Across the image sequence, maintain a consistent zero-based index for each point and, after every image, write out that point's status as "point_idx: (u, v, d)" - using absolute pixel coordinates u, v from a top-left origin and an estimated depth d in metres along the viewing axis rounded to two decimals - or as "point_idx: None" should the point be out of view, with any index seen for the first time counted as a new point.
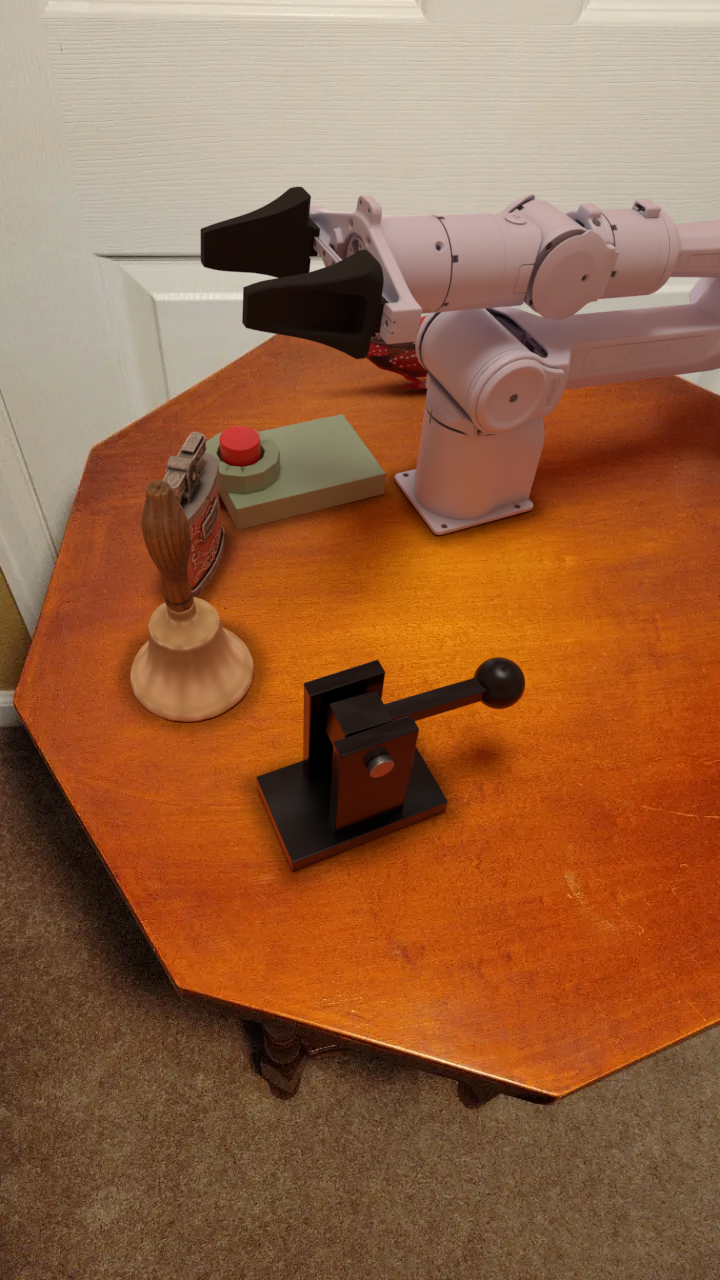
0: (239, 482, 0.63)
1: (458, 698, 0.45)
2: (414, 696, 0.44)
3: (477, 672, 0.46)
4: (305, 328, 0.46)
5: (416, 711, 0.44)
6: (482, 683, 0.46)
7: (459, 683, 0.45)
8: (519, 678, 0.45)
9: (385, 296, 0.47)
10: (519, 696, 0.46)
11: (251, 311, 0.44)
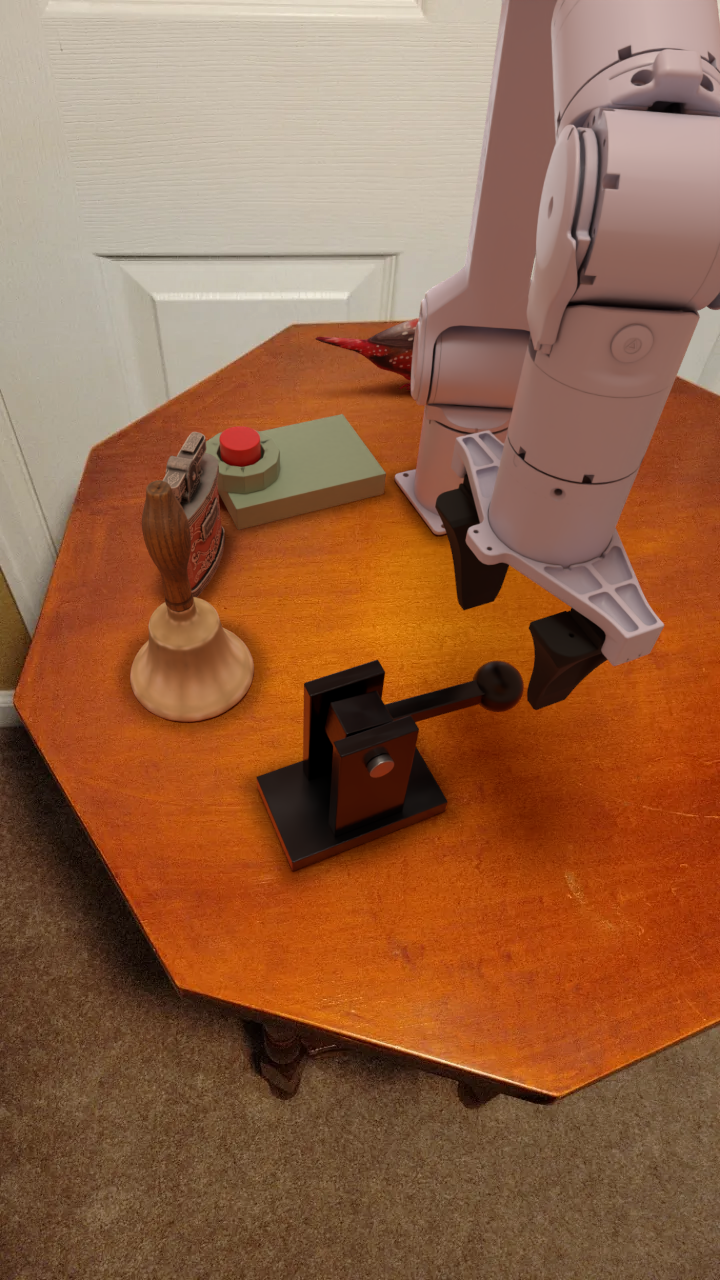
0: (239, 482, 0.63)
1: (457, 700, 0.45)
2: (414, 697, 0.44)
3: (476, 675, 0.46)
4: (589, 662, 0.39)
5: (416, 712, 0.44)
6: (481, 686, 0.46)
7: (458, 686, 0.46)
8: (518, 682, 0.46)
9: None
10: (517, 700, 0.46)
11: (552, 701, 0.42)
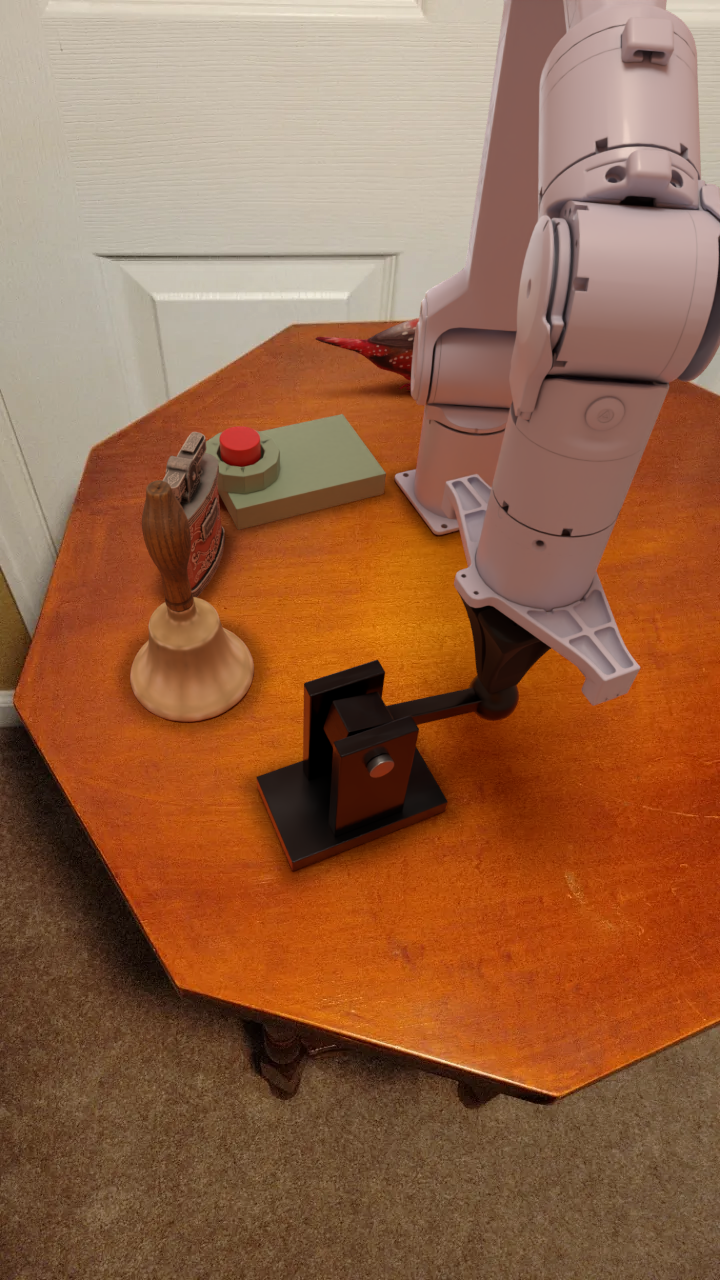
0: (239, 482, 0.63)
1: (455, 706, 0.45)
2: (413, 700, 0.45)
3: (473, 683, 0.47)
4: (537, 649, 0.43)
5: (415, 715, 0.44)
6: (478, 694, 0.46)
7: (456, 692, 0.46)
8: (514, 691, 0.46)
9: None
10: (513, 709, 0.47)
11: (505, 686, 0.46)
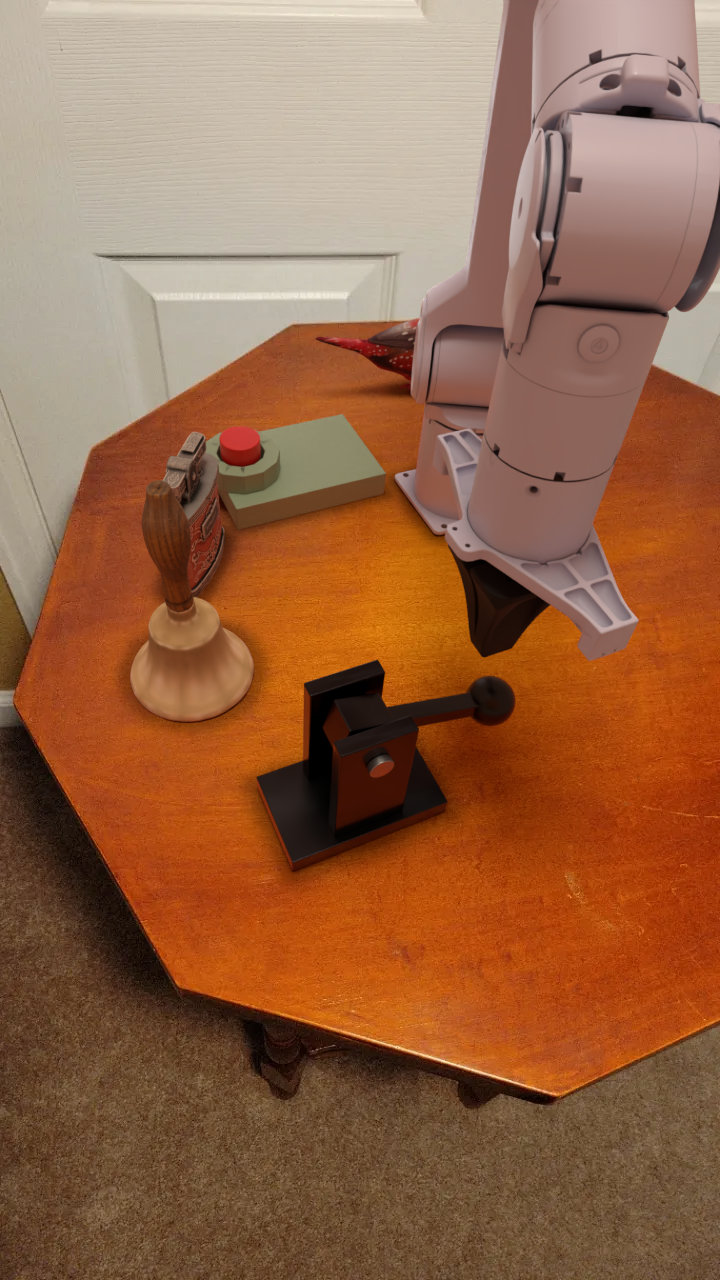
0: (239, 482, 0.63)
1: (454, 710, 0.45)
2: (413, 703, 0.45)
3: (471, 688, 0.47)
4: (532, 609, 0.42)
5: (414, 717, 0.44)
6: (476, 699, 0.47)
7: (454, 696, 0.46)
8: (511, 697, 0.47)
9: None
10: (509, 715, 0.47)
11: (499, 650, 0.44)
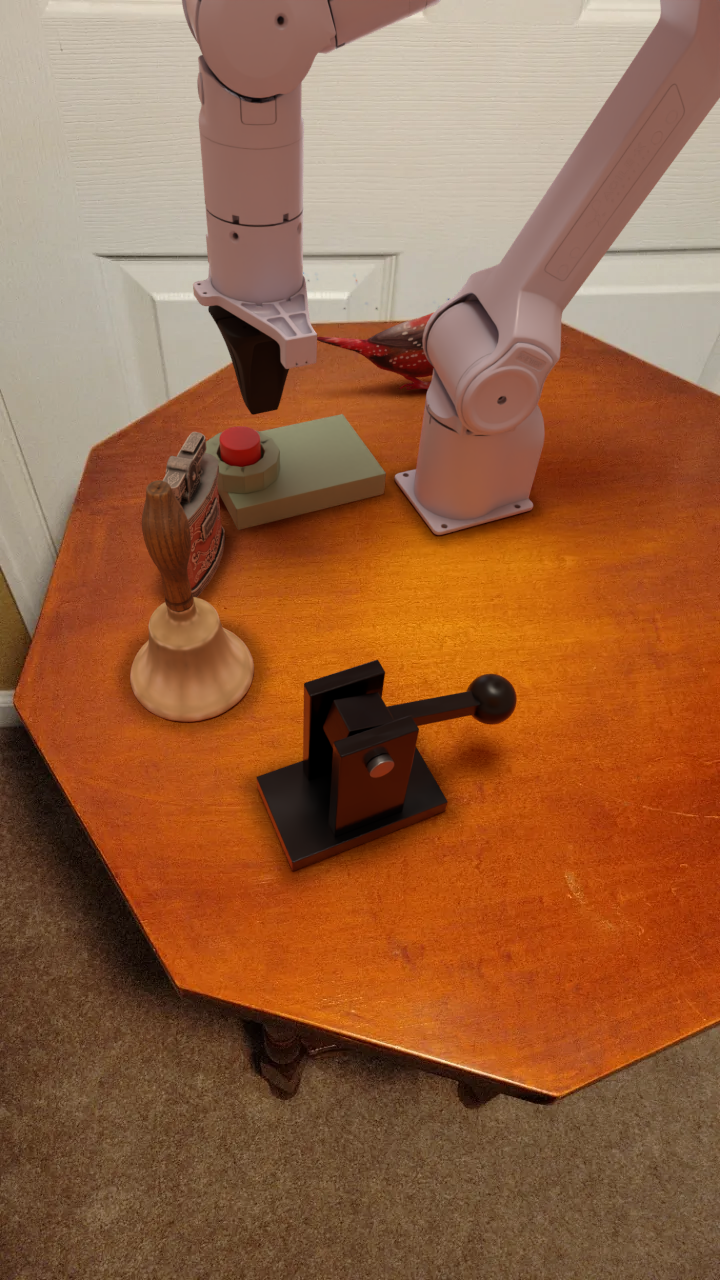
0: (239, 482, 0.63)
1: (454, 708, 0.45)
2: (413, 702, 0.45)
3: (472, 686, 0.47)
4: (280, 368, 0.55)
5: (414, 717, 0.44)
6: (477, 697, 0.47)
7: (455, 695, 0.46)
8: (512, 695, 0.47)
9: None
10: (511, 713, 0.47)
11: (265, 409, 0.57)
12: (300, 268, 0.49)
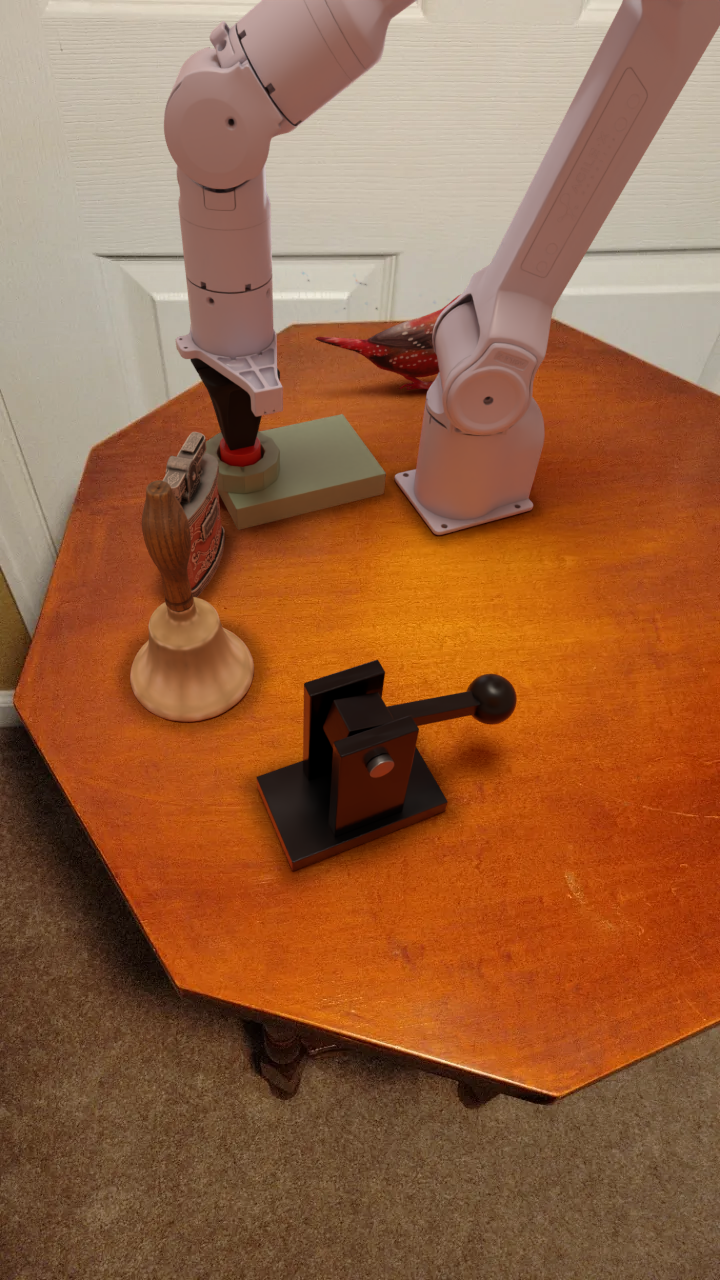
0: (239, 482, 0.63)
1: (454, 708, 0.45)
2: (413, 702, 0.45)
3: (472, 686, 0.47)
4: None
5: (414, 717, 0.44)
6: (477, 697, 0.47)
7: (455, 695, 0.46)
8: (512, 695, 0.47)
9: None
10: (511, 713, 0.47)
11: (242, 445, 0.63)
12: (270, 326, 0.55)
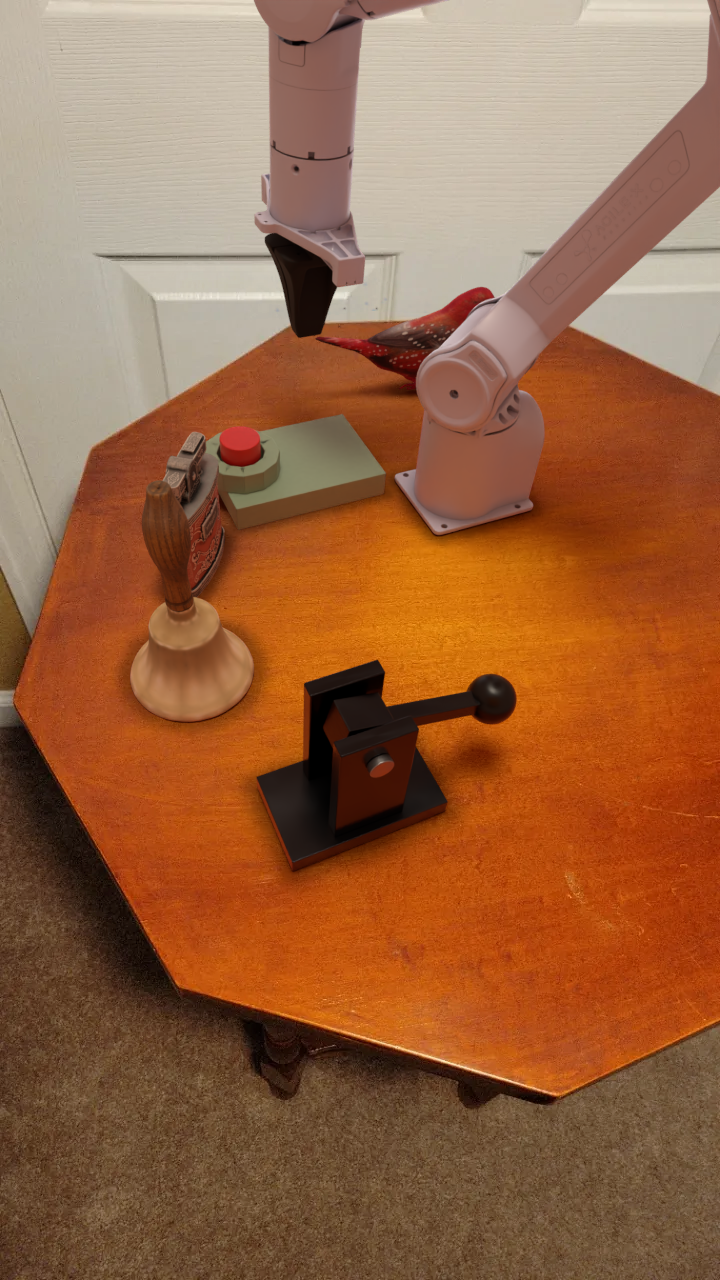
0: (239, 482, 0.63)
1: (454, 708, 0.45)
2: (413, 702, 0.45)
3: (472, 686, 0.47)
4: (326, 294, 0.62)
5: (414, 717, 0.44)
6: (477, 697, 0.47)
7: (455, 695, 0.46)
8: (512, 695, 0.47)
9: None
10: (511, 713, 0.47)
11: (310, 333, 0.64)
12: (349, 201, 0.56)
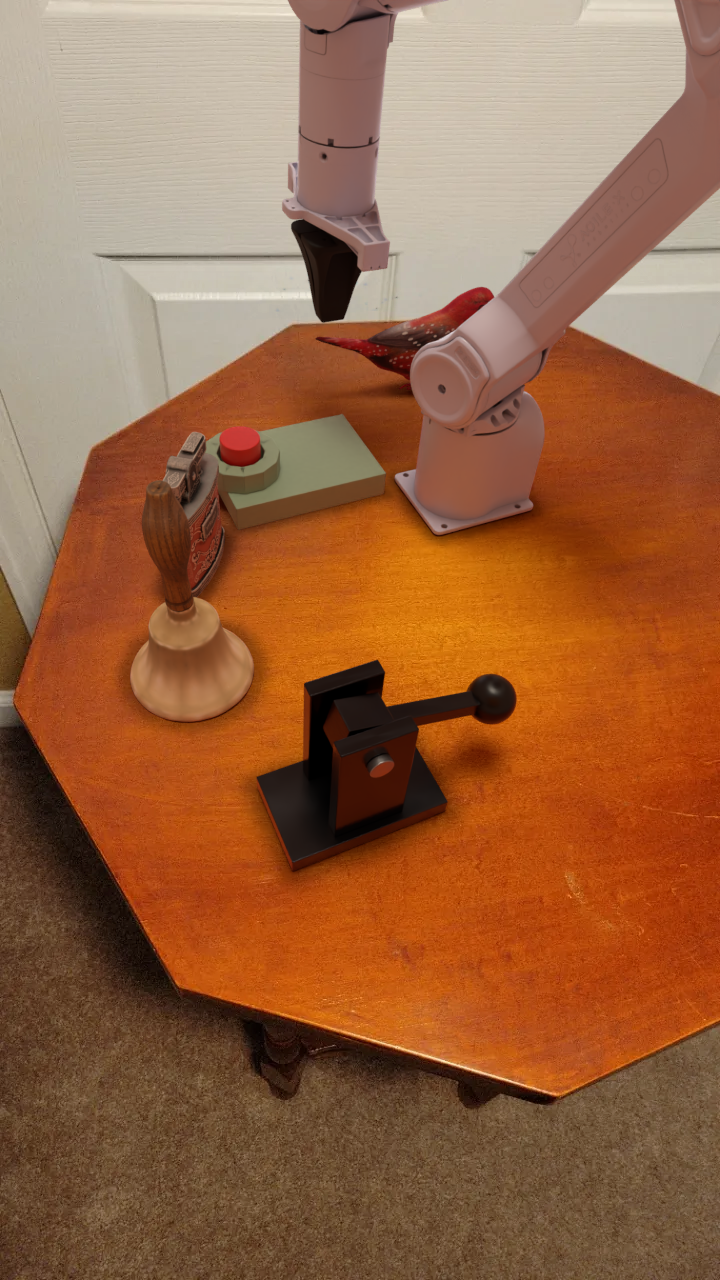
0: (239, 482, 0.63)
1: (454, 708, 0.45)
2: (413, 702, 0.45)
3: (472, 686, 0.47)
4: (349, 280, 0.64)
5: (414, 717, 0.44)
6: (477, 697, 0.47)
7: (455, 695, 0.46)
8: (512, 695, 0.47)
9: None
10: (511, 713, 0.47)
11: (333, 318, 0.66)
12: (374, 188, 0.58)
